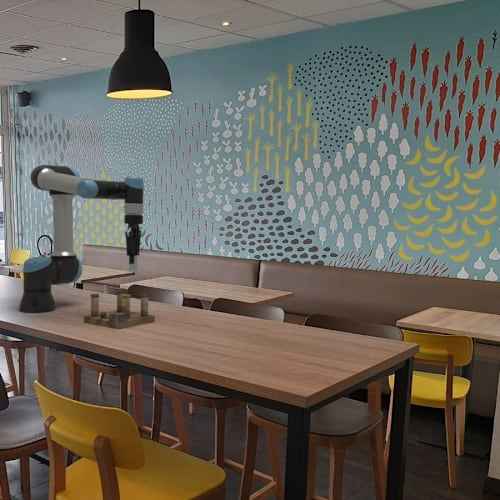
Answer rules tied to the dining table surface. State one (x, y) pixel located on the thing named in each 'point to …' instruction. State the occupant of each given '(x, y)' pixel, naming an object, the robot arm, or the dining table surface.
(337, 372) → the dining table surface
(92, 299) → the stool seat
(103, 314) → the swing leg
